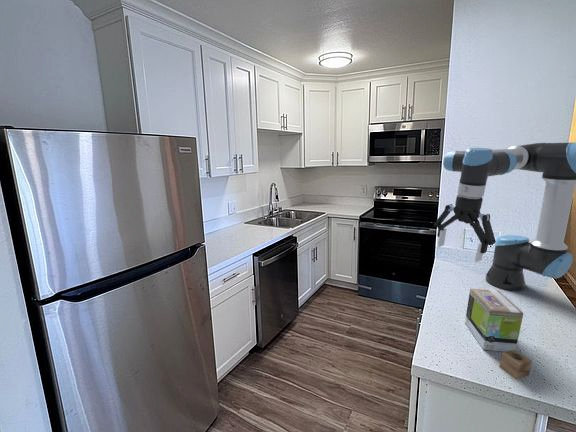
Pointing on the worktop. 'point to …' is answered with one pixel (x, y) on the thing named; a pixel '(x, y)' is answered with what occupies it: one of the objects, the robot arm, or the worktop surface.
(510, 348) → the tea box
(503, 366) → the walnut block
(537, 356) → the worktop surface
